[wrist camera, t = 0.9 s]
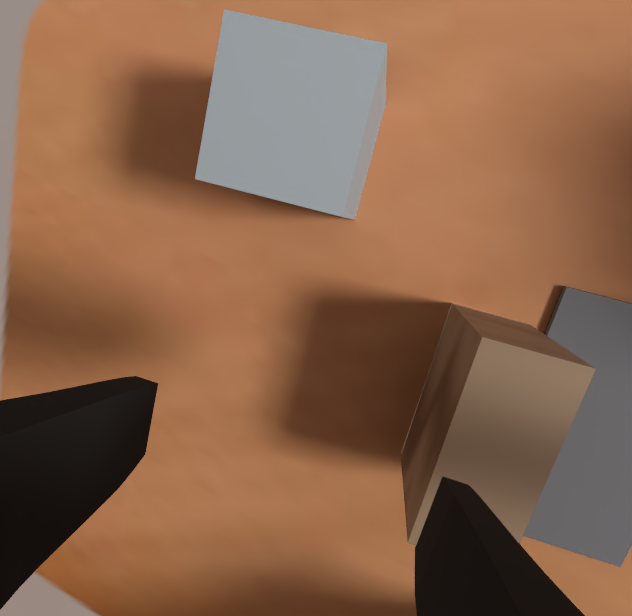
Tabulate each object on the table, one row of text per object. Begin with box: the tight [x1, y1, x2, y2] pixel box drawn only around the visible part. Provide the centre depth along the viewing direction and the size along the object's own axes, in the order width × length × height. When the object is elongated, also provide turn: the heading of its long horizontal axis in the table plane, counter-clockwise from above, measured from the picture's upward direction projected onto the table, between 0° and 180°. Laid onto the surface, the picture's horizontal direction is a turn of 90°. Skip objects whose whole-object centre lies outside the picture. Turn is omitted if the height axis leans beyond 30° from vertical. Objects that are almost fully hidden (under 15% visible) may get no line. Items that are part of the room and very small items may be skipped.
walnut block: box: [401, 303, 596, 545], centre depth 17 cm, size 8×4×6 cm, turn 166°
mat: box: [523, 286, 632, 567], centre depth 19 cm, size 12×7×1 cm, turn 166°
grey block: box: [195, 10, 387, 220], centre depth 15 cm, size 5×5×6 cm
